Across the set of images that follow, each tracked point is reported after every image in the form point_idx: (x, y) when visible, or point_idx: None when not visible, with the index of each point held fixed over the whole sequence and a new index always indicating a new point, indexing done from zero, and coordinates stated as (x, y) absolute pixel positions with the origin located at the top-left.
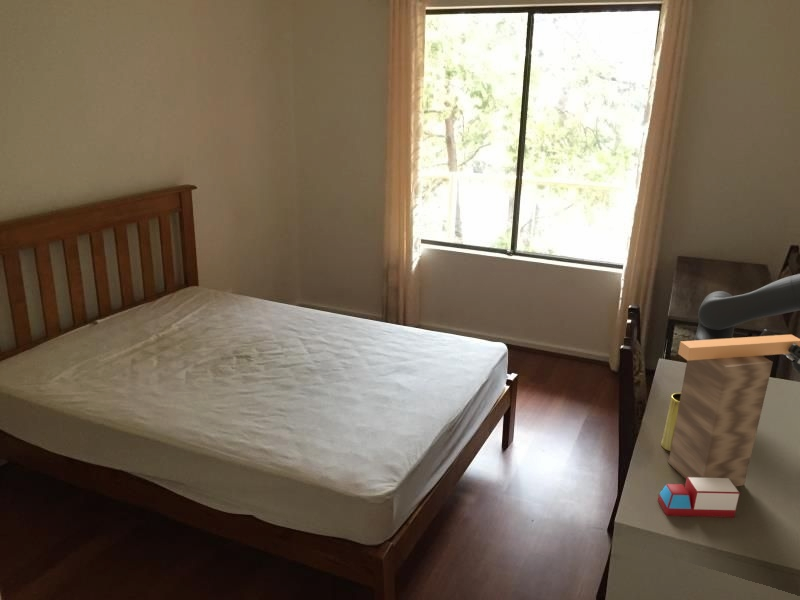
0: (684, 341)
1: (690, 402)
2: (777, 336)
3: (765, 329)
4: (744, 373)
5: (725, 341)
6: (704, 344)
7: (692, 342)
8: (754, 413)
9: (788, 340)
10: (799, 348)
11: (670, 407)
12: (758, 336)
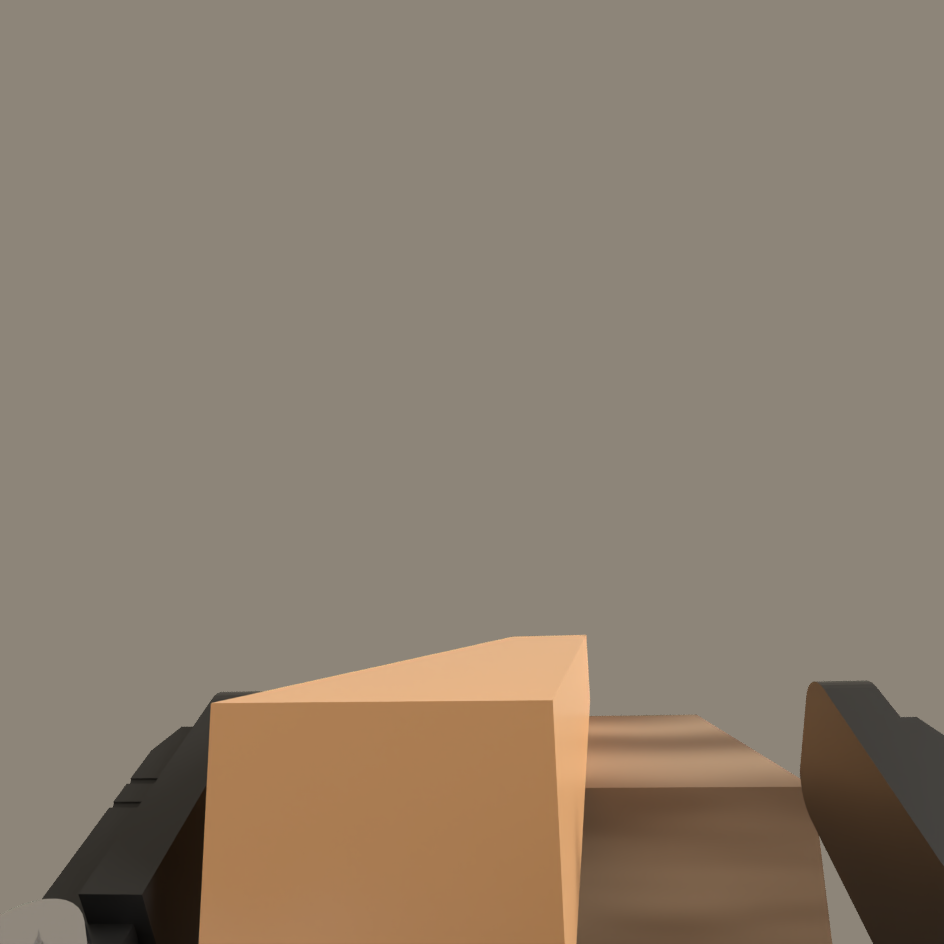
0: (581, 635)
1: None
2: (527, 670)
3: (850, 681)
4: None
5: (539, 642)
6: (529, 638)
7: (565, 636)
8: None
9: (359, 676)
10: (162, 744)
11: None
12: (574, 655)
